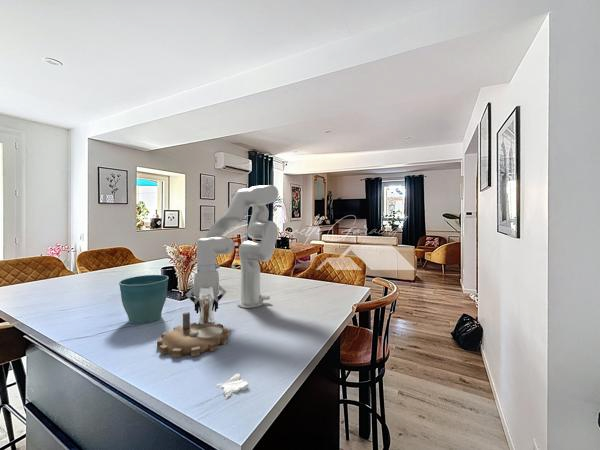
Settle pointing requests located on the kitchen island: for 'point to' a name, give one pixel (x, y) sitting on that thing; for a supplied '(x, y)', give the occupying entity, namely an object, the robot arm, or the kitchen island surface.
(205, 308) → the beer glass
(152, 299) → the flower pot
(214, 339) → the sprocket wheel
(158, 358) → the kitchen island surface
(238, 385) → the acanthus leaf ornament
